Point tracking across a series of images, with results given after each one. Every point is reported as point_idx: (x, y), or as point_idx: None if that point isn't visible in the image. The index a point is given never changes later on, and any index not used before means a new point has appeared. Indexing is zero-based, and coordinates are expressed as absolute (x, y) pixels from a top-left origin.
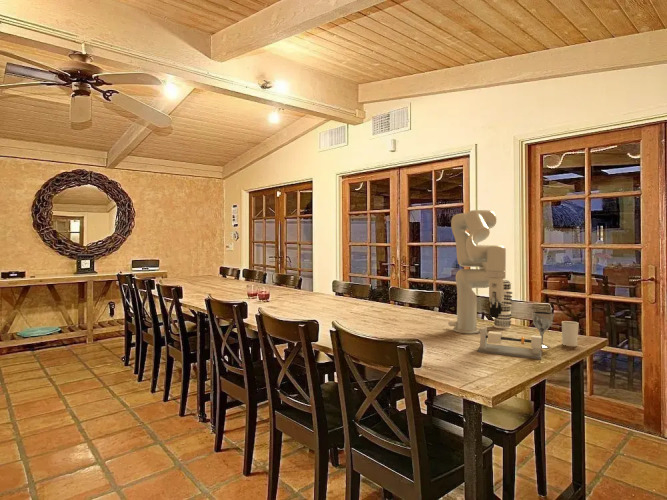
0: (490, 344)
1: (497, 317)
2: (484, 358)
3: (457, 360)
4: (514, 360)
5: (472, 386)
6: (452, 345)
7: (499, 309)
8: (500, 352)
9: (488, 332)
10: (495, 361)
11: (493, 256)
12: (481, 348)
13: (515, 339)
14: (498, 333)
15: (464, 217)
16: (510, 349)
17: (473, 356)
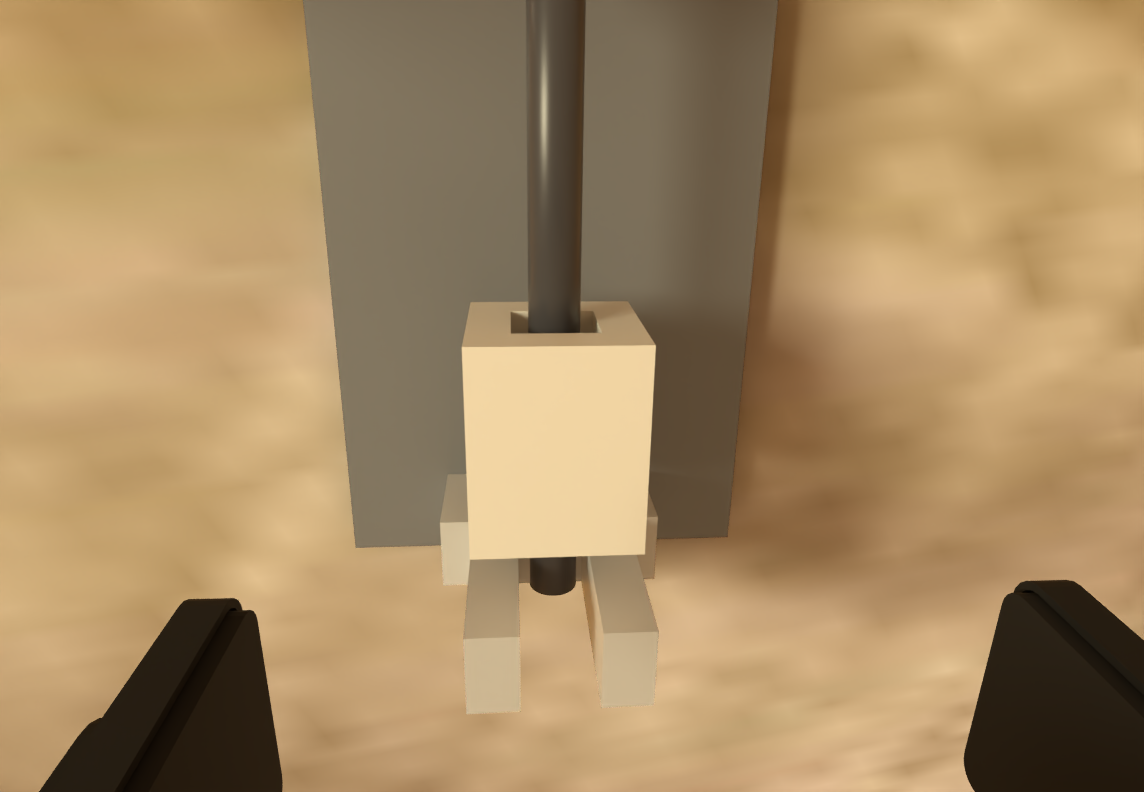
0: (369, 441)
1: (1055, 586)
2: (988, 404)
3: (1141, 620)
4: (974, 47)
5: None
6: (548, 788)
7: (196, 768)
8: (752, 261)
9: (593, 553)
10: (1085, 273)
11: None
12: (658, 505)
13: (583, 50)
14: (595, 389)
15: None
16: (526, 143)
17: (940, 521)
